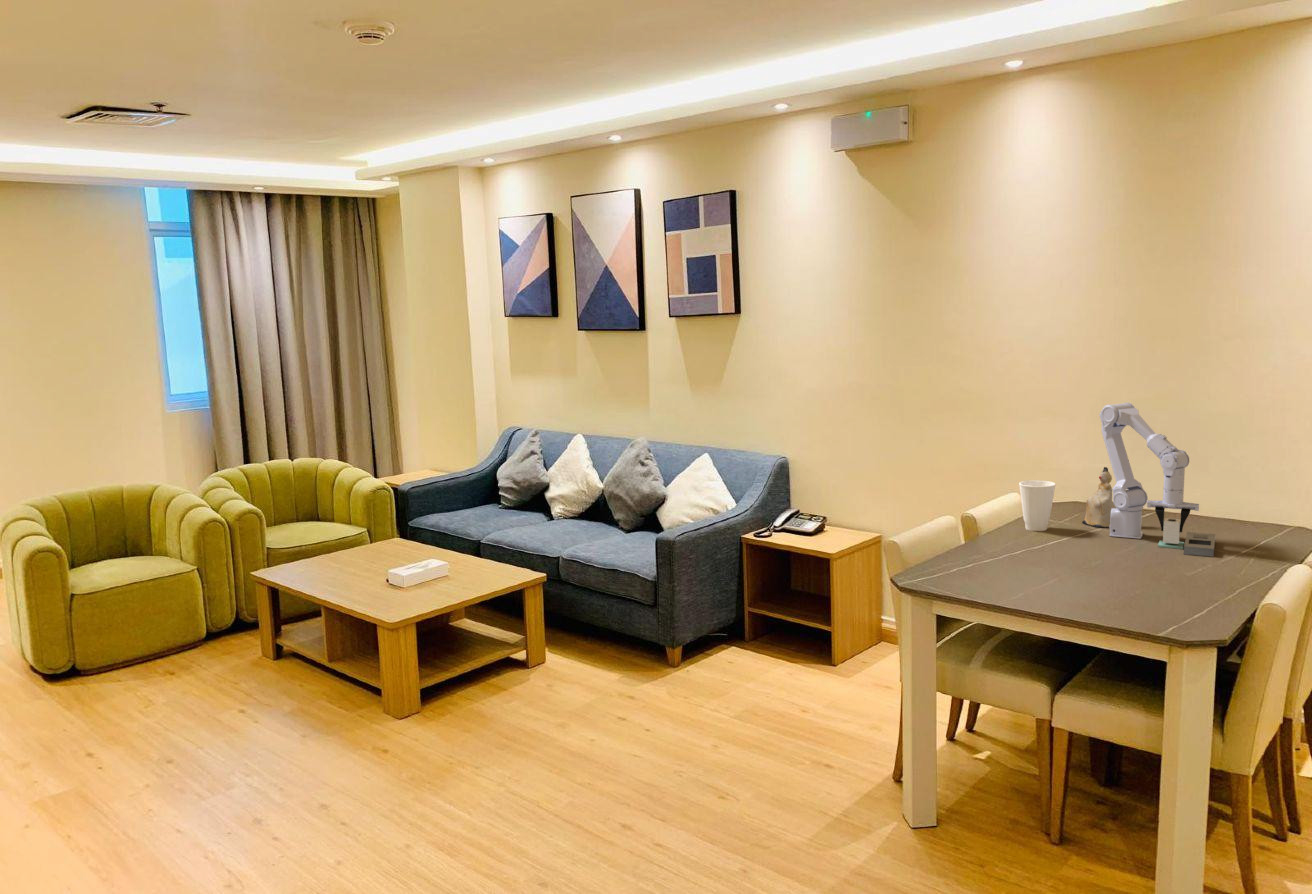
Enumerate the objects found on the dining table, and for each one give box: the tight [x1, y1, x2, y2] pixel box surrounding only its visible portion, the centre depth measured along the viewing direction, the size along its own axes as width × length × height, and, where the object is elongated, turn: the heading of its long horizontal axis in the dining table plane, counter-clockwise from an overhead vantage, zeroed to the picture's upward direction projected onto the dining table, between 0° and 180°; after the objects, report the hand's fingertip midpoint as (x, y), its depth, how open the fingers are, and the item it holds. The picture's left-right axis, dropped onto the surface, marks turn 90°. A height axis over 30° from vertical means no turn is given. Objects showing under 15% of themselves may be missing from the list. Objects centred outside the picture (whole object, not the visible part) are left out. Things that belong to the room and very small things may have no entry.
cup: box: [1018, 479, 1057, 532], centre depth 345 cm, size 12×12×16 cm
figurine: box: [1081, 466, 1117, 529], centre depth 348 cm, size 12×10×20 cm
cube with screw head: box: [1162, 517, 1181, 544], centre depth 317 cm, size 4×4×7 cm
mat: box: [1157, 539, 1185, 550], centre depth 318 cm, size 7×7×1 cm
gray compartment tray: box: [1183, 531, 1216, 558], centre depth 314 cm, size 8×20×3 cm, turn 150°
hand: (1171, 531), depth 317 cm, fingers closed on cube with screw head, 4 cm apart
